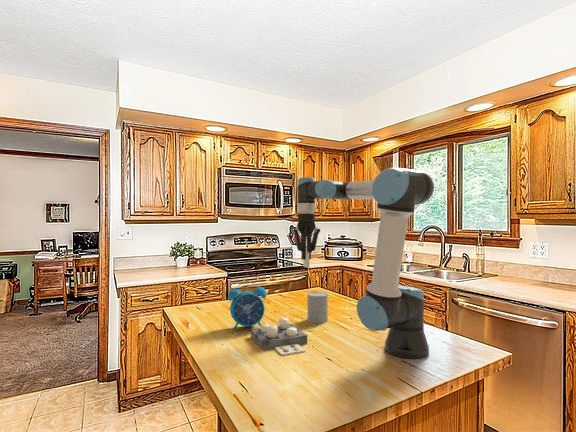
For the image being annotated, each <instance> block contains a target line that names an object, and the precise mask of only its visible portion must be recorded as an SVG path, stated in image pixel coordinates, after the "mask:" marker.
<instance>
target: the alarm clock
mask: <svg viewBox="0 0 576 432" xmlns="http://www.w3.org/2000/svg"><path fill="white" fill-rule="evenodd" d="M244 283H251V284H252V285H253V286H255V288H254V289H253V292H252V291H243V292H242V290H241V289H239V287H240V286H241V285H242V284H244ZM265 288H266V287H264V286H263V287H262V286H259V285H256V283H254V282H252V281H250V280H244V281H242V282H241V283H239V284H238V285H237V286H236V287H233V288H232V289H231V288H230V289H229V292H228V296H227V299H228V301H230V302H231V303H230V308H229V310H230V311H229V312H230V315H231V318H232V319H233V320H234V322H235V325H234V326H233V328H232V331H233V332H235V330H236V329H237V327H238V325H241V326H242V327H252V326H255V325H257V324H258V326H259V327H260V325H262V323H261V322H260V321H261V320H262V319H263V318H264V315H265V303H264V301H263V300H262V299H264V300H265V299H266V298H267V292H266V289H265Z"/></svg>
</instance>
